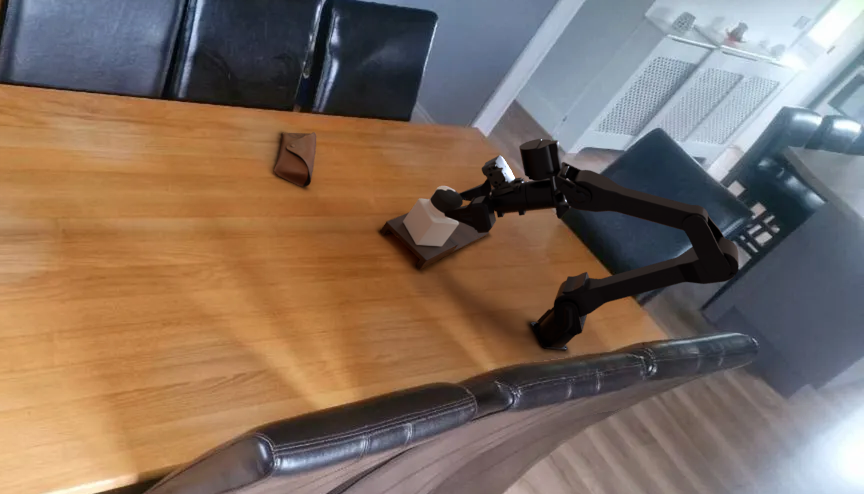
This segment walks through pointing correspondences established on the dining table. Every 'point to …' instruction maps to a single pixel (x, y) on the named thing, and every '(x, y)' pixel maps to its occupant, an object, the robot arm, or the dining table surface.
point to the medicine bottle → (433, 217)
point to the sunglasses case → (296, 158)
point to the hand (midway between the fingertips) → (451, 204)
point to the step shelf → (432, 253)
